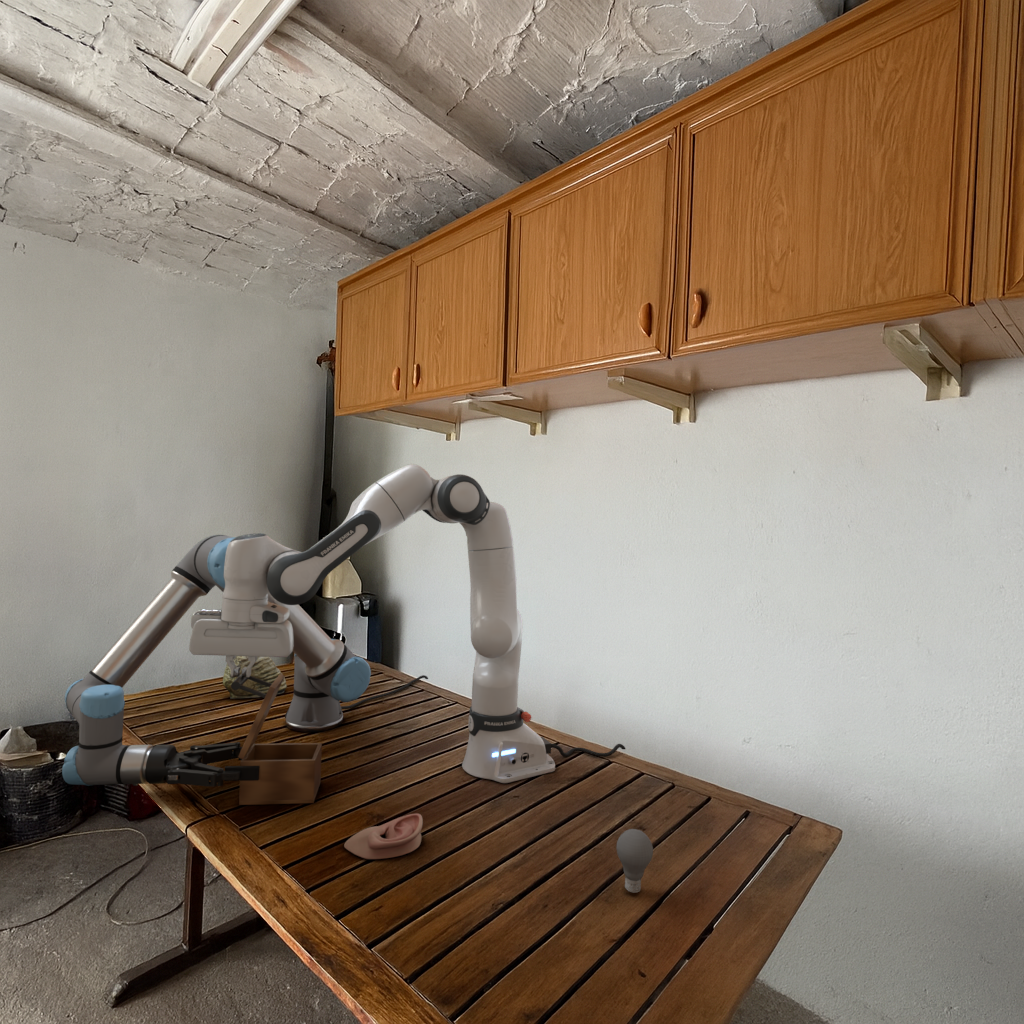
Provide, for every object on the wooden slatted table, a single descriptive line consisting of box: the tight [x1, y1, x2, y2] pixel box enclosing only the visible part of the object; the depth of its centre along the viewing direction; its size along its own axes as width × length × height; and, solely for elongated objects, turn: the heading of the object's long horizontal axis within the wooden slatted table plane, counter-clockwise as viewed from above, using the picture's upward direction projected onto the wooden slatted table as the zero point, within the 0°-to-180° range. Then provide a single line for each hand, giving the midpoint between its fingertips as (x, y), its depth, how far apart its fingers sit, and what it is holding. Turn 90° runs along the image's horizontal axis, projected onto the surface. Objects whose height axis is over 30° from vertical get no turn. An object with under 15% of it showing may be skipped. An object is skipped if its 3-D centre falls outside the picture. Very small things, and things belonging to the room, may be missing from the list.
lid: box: [231, 673, 286, 759], centre depth 133 cm, size 16×9×8 cm
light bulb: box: [615, 828, 654, 894], centre depth 106 cm, size 6×6×10 cm
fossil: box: [222, 656, 288, 699], centre depth 198 cm, size 9×18×15 cm, turn 132°
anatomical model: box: [343, 813, 424, 860], centre depth 117 cm, size 13×4×12 cm
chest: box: [238, 742, 323, 806], centre depth 134 cm, size 15×9×9 cm, turn 98°
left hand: (264, 762), depth 134 cm, fingers closed on chest, 9 cm apart
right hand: (240, 676), depth 133 cm, fingers closed, pressing on lid
